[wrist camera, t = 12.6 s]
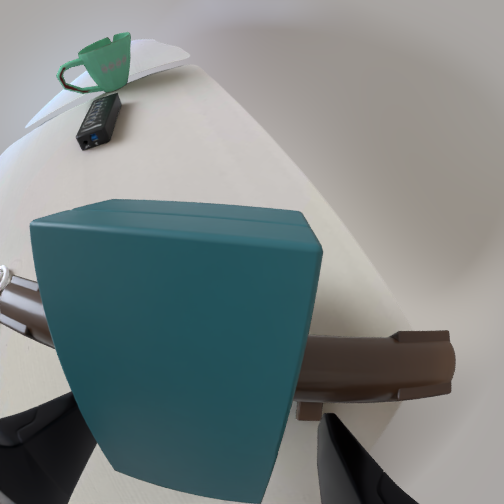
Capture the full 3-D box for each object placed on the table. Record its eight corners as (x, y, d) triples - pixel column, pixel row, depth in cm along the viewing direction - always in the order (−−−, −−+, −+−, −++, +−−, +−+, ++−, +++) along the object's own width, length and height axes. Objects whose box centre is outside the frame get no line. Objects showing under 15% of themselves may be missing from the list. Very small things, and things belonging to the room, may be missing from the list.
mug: (129, 71, 43) (120, 31, 34) (148, 79, 39) (137, 32, 31) (66, 105, 38) (51, 65, 29) (74, 118, 34) (55, 71, 26)
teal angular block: (274, 295, 17) (260, 504, 5) (210, 288, 17) (114, 470, 5) (285, 185, 15) (325, 245, 3) (215, 180, 15) (27, 220, 3)
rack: (317, 419, 15) (453, 445, 3) (145, 395, 16) (-17, 359, 4) (322, 362, 17) (447, 277, 5) (155, 341, 18) (24, 233, 6)
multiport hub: (121, 103, 35) (118, 91, 33) (109, 141, 30) (104, 127, 28) (97, 111, 34) (93, 100, 33) (81, 151, 29) (74, 138, 27)
